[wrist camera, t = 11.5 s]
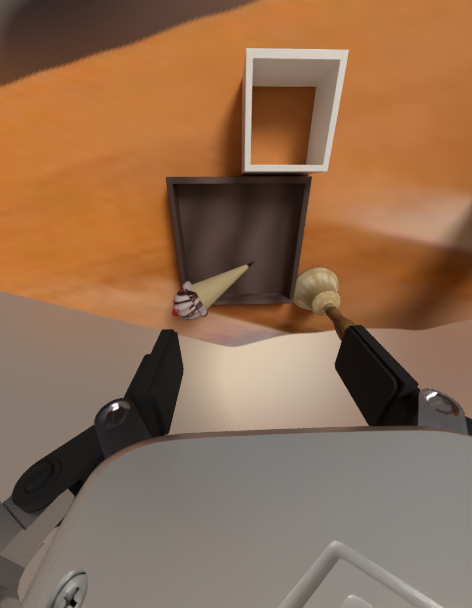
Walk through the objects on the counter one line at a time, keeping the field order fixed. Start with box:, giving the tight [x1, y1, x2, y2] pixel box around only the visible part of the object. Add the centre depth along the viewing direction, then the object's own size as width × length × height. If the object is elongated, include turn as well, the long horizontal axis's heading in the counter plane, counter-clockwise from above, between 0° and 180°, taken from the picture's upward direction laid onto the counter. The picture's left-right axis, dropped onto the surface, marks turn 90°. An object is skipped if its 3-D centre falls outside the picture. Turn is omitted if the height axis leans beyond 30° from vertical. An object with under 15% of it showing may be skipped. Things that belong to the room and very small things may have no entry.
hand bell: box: [294, 267, 356, 341], centre depth 30 cm, size 8×8×16 cm
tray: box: [166, 177, 312, 305], centre depth 31 cm, size 18×18×3 cm
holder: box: [241, 48, 349, 174], centre depth 23 cm, size 9×9×6 cm
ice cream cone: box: [172, 261, 255, 320], centre depth 32 cm, size 6×6×15 cm
